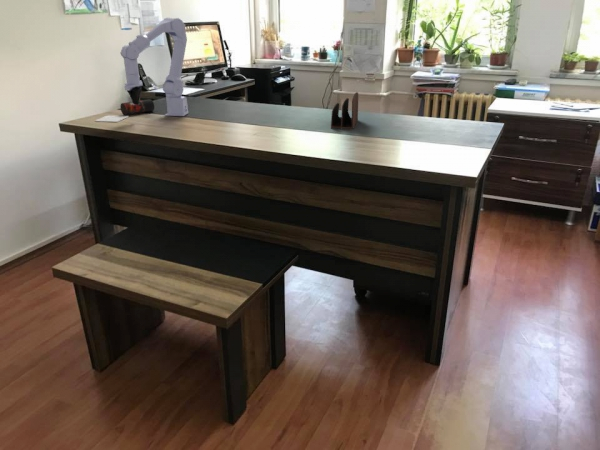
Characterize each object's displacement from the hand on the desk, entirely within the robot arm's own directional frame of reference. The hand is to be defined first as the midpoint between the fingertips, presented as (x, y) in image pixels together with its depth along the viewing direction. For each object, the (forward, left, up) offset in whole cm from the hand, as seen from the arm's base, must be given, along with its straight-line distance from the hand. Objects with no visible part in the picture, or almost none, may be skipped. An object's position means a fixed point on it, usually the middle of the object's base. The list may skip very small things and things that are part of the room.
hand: (136, 104), depth 229 cm
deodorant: (+11, -9, -4) cm, 15 cm away
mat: (+13, 0, -7) cm, 15 cm away
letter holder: (-96, -7, -8) cm, 97 cm away
